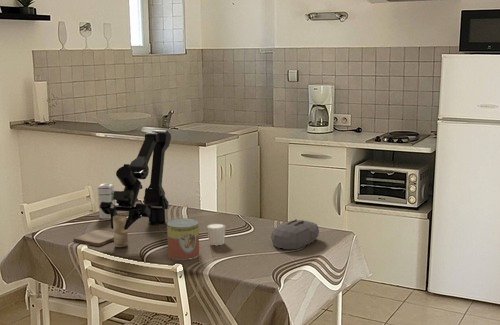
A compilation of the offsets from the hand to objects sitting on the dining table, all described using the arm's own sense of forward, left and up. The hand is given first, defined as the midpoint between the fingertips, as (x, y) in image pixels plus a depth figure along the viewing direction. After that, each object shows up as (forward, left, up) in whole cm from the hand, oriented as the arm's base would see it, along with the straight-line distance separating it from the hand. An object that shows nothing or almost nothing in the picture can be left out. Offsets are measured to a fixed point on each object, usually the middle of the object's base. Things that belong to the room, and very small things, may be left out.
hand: (118, 229), depth 230 cm
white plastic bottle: (+2, -45, -8) cm, 45 cm away
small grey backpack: (-64, +13, -8) cm, 66 cm away
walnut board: (+7, -13, -7) cm, 17 cm away
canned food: (-22, +14, -8) cm, 27 cm away
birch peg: (-1, -1, -7) cm, 7 cm away
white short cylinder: (-36, +5, -8) cm, 37 cm away
